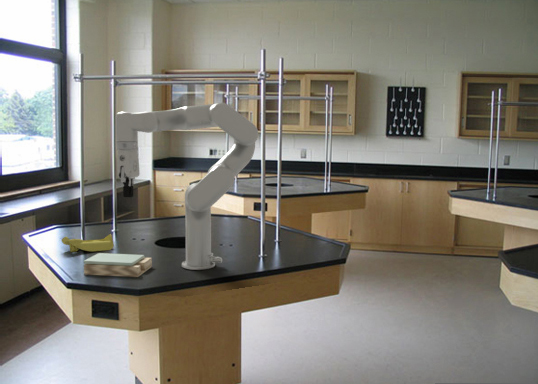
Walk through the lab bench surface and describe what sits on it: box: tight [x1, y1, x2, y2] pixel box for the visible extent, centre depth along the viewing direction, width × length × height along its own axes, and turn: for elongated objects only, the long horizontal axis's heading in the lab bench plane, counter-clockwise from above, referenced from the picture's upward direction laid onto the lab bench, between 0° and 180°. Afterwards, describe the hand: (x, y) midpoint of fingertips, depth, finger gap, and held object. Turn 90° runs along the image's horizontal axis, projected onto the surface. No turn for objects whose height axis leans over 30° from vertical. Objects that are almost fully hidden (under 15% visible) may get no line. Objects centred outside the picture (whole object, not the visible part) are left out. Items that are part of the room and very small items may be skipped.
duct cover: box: [83, 252, 145, 266], centre depth 199 cm, size 18×12×1 cm, turn 82°
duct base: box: [83, 256, 153, 278], centre depth 199 cm, size 20×14×4 cm
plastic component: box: [60, 234, 115, 253], centre depth 231 cm, size 20×7×10 cm
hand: (128, 196), depth 198 cm, fingers closed
